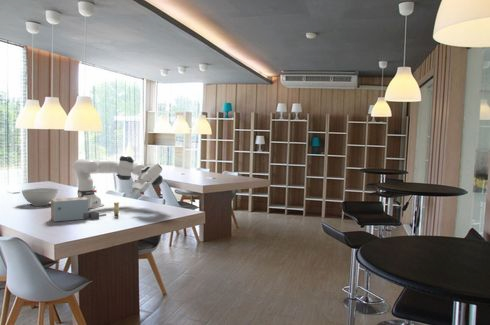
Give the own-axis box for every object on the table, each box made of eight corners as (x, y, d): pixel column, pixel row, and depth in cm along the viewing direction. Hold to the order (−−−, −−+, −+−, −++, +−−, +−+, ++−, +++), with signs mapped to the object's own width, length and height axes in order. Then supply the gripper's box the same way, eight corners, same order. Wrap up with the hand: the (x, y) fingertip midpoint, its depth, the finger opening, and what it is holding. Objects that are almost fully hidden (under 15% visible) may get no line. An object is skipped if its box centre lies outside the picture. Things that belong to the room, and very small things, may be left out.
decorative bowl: (54, 201, 342) (54, 187, 341) (61, 205, 321) (61, 191, 320) (19, 203, 325) (19, 189, 324) (24, 208, 304) (24, 193, 303)
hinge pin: (116, 215, 286) (116, 202, 285) (119, 216, 284) (119, 202, 284) (112, 216, 283) (113, 202, 282) (116, 216, 281) (116, 203, 281)
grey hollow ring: (97, 216, 279) (97, 210, 279) (100, 218, 273) (100, 212, 273) (82, 218, 273) (82, 212, 272) (84, 220, 267) (84, 213, 267)
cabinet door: (87, 218, 272) (87, 198, 272) (88, 218, 270) (88, 199, 269) (53, 221, 260) (53, 201, 259) (54, 221, 258) (54, 201, 257)
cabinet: (84, 216, 281) (84, 196, 280) (88, 218, 273) (88, 198, 272) (51, 219, 268) (51, 199, 267) (53, 221, 260) (53, 201, 259)
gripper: (153, 184, 288) (141, 198, 283) (143, 182, 305) (131, 195, 300) (148, 179, 285) (135, 193, 280) (138, 176, 302) (125, 189, 297)
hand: (133, 194), depth 290 cm, fingers open, 8 cm apart
